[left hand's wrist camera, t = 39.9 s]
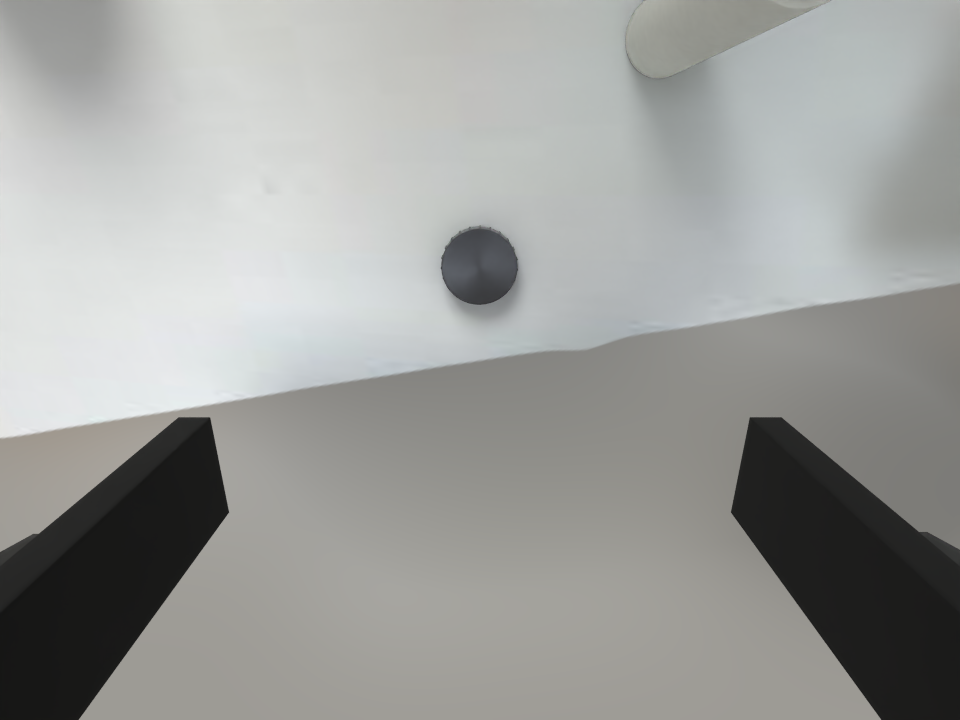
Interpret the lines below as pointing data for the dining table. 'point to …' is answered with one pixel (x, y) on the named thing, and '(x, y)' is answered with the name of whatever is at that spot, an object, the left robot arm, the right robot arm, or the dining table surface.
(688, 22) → the jar
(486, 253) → the lid
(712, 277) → the dining table surface
